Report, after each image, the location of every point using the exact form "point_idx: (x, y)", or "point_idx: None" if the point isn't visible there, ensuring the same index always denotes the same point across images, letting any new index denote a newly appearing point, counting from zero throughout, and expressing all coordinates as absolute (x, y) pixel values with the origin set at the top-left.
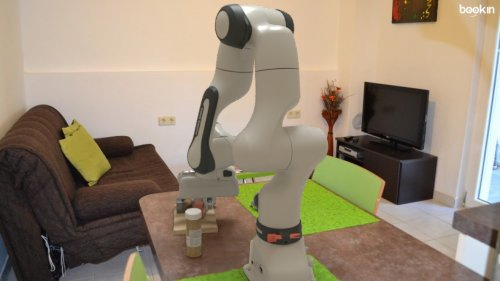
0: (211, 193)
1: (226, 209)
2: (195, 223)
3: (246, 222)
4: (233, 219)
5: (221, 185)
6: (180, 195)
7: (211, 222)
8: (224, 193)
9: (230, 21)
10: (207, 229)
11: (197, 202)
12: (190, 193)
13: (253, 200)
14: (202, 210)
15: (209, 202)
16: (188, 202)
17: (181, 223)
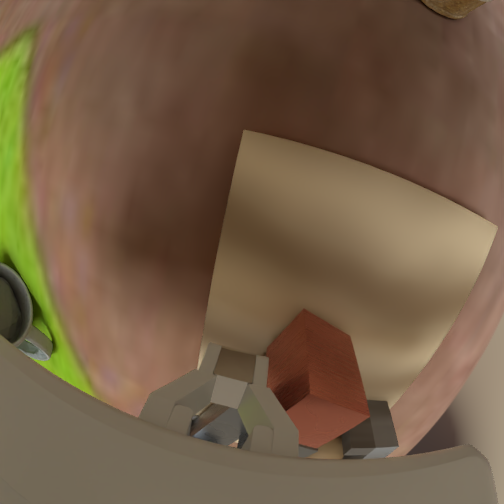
0: (181, 485)
1: (138, 373)
2: None
3: (67, 210)
4: (115, 270)
5: (12, 496)
6: (487, 463)
7: (259, 240)
8: (26, 398)
9: None
10: (323, 150)
11: (327, 430)
12: (435, 496)
13: (21, 338)
14: (308, 351)
15: (206, 428)
16: (327, 449)
17: (434, 300)
